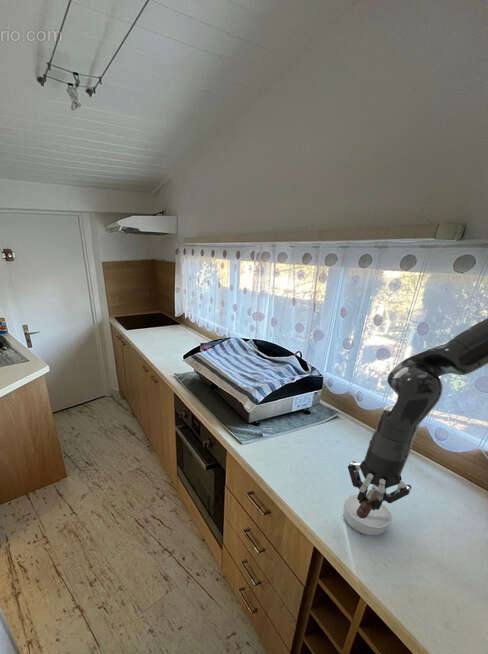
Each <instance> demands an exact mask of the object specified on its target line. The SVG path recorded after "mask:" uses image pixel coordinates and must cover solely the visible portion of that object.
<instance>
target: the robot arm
mask: <svg viewBox="0 0 488 654" xmlns="http://www.w3.org/2000/svg"><path fill="white" fill-rule="evenodd" d="M487 365H488V318H485V319H483V320H481V321H479V322H477V323H476V324H474V325H472V326H470V327H468V328H467V329H465V330H464V331H462V332H459V334H457V335H455V336H453V337H452V338H450V339H449V340H447V341H445V342H444V343H442V344H440V345H437V346H434V347H431V348H428V349H427V350H423V351H421V352H418V353H416V354H413V355H410V356H409V357H406V358H405V359H403V360H401V361H399V362H398V363H396V364H395V365H394V366H393V367H392V368H391V369H390V371H389V372H388V375H387V379H386V381H387V384H388V386H389V387H390V389H391V390H392V391H393V392H394V393H395V394H396V396H397V399H396V402H395V403H391V404H388V405H386V406H385V407H384V408H383V409H382V412H381V414H380V416H379V419H378V421H377V425H376V428H375V430H374V432H373V434H372V436H371V439H370V440H369V443H368V448H367V450H366V452H365V453H366V454H365V456H364V459H363V461H361V462H356V461H355V460H351V462H350V463H349V464H348V465H347V469H348V474H349V477H350V480H351V484H352V486H353V488H357V489H358V490H359V492H358V493H357V494H358V497H357V500H359V503H360V504H361V503H362V501H363V500H364V498H365V497H366V495H367V493H368V492H369V489H368V488H369V486H370V485H372V486H373V485H375V486H377V487H378V495H377V497H376V499H375V502H374V504H373V507H372V510H374V511H375V509H377V510H379V508H380V507H381V504H383V502H386V503H387V504H393V503H394V502H396V501H398V500H400V499H403V498H404V497H406V496H408V495H409V494H410V492H411V490H412V486H411V484H407V483H405V482H404V481H403V480H402V472H403V470H404V467H405V465H406V463H407V461H408V459H409V456H410V453H411V451H412V449H413V443H414V440H415V437H416V435H417V433H418V430H419V428H420V425H421V423H422V422H423V421H424V420H425V419H426V418H427V417H428V416H429V414H430V413H431V412H432V411H433V409H434V408H435V407H436V405H438V403H439V401H440V400H441V397H442V395H443V388H444V386H443V382H442V381H443V380H441V378H440V377H441V376H445V375H448V374H453V375H456V376H466V375H470V374H472V373H474V372H476V371H477V370H480V369H482V368H484V367H485V366H487ZM360 471H361V473H362V476H363V478H364V480H363V481H362V479H361V474H360ZM394 486H397V487H396V489H395V490H394V491H392V492H389V493H388V492H387V490H388V489H389V488H391V487H394Z"/></svg>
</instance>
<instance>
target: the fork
mask: <svg viewBox="0 0 488 654" xmlns="http://www.w3.org/2000/svg"><path fill="white" fill-rule="evenodd" d="M377 495H378V487H377V486H375V485H373V484H372V486H371V489H368V492H367V494H366V497H365V498H364V500H363V501H362V503H361V505H360V506H359V508H358V509H357V511H356V513H357V516H358V517H359V518H362V519H364V518H366V517H367V516H368V514H369V513H370V511H371V509H372V507H373V504H374V502H375V499H376V497H377Z"/></svg>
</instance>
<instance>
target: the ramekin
mask: <svg viewBox="0 0 488 654" xmlns="http://www.w3.org/2000/svg"><path fill="white" fill-rule="evenodd" d="M358 494H359V493H354V494H350V495H349V496H347V497H346V498H345V500H344V503H343V509H344V510H343V517H344V519H345V521H346V522H347V523H346V524H348V525H349V526H350V527H351V528H352V529H354V530H355V531H357V532H359V533H361V534H364V535H367V536H379V535H382V534H383V533H385V531H386V530H387V529H388V528H389V527H390V526H391V523H392V521H393V517H392V513H391V512H390V510H389V508H388V507H387V506H386V505H385V504H384V503H382V504H381V507H380V508H379V510H377V509H375V511H374V510H372V509H371V511H370V513H369V514H368V516H367V517H366V518H364V519H362V518H359V517H358V516H357V513H356V511H357V509H358V508H359V506H360V505H361V504H360V503H359V500H357V497H358Z"/></svg>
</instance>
